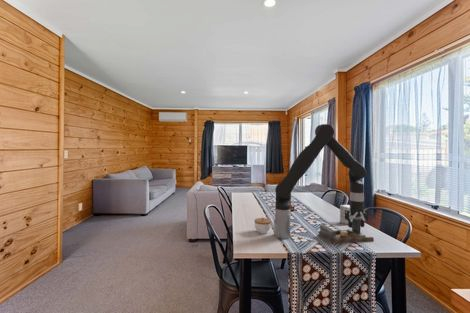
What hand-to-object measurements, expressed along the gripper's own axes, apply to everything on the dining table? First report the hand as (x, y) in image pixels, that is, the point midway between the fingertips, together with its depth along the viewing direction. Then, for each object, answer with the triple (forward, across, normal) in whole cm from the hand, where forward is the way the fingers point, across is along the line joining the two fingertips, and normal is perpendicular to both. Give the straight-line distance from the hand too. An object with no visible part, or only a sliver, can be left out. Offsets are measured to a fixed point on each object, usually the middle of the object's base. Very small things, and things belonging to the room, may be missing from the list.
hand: (356, 227), depth 141 cm
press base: (+7, -7, 0) cm, 10 cm away
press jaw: (+6, 0, 0) cm, 6 cm away
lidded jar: (+8, -52, +20) cm, 56 cm away
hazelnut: (+6, -8, 0) cm, 10 cm away
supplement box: (+8, +16, +31) cm, 36 cm away
